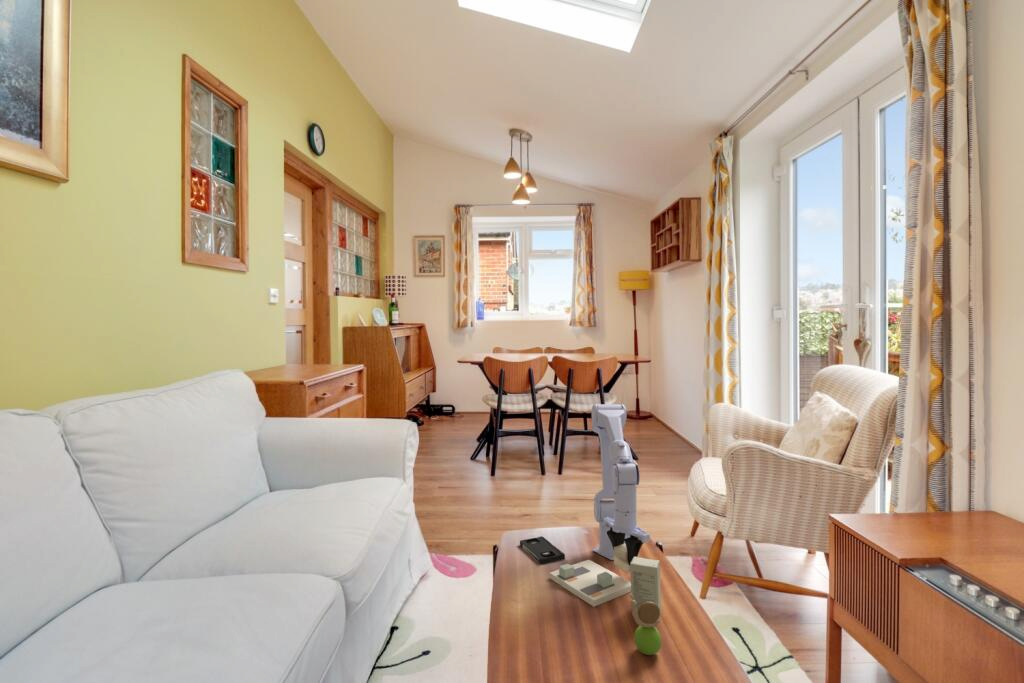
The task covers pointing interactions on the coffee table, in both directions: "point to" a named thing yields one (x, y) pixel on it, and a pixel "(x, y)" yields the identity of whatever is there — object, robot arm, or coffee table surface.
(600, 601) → the white base plate
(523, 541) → the vhs tape
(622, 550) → the block
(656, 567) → the skincare box
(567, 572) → the tab
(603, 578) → the tab
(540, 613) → the coffee table surface
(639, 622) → the snail figurine
